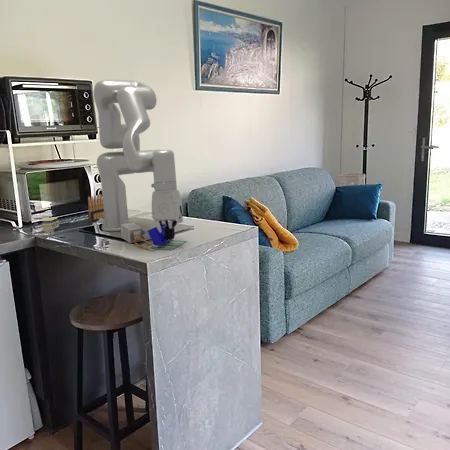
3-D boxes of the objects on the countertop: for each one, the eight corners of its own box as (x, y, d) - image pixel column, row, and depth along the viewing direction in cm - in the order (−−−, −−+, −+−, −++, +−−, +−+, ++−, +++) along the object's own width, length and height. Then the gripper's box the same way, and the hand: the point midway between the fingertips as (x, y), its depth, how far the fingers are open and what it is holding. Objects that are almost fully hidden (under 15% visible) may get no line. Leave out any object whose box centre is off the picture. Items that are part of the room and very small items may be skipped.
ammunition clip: (105, 218, 215) (103, 193, 212) (108, 218, 214) (106, 193, 211) (88, 222, 206) (85, 196, 203) (91, 223, 205) (88, 196, 202)
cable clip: (164, 239, 167) (157, 224, 167) (174, 235, 166) (168, 220, 165) (150, 248, 156) (143, 232, 156) (161, 243, 155) (154, 227, 154)
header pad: (146, 248, 157) (146, 247, 157) (163, 240, 168) (163, 239, 168) (171, 250, 154) (171, 249, 153) (186, 241, 164) (186, 240, 164)
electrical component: (167, 256, 157) (168, 242, 155) (152, 259, 153) (152, 245, 151) (132, 233, 174) (132, 221, 172) (118, 236, 170) (118, 223, 168)
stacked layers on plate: (58, 234, 187) (57, 220, 186) (36, 235, 186) (34, 222, 185) (65, 228, 197) (63, 216, 196) (43, 229, 196) (42, 217, 195)
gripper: (140, 188, 155) (146, 241, 158) (180, 187, 150) (184, 242, 153) (152, 186, 162) (156, 236, 165) (190, 185, 156) (194, 237, 160)
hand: (170, 239), depth 159 cm, fingers closed
